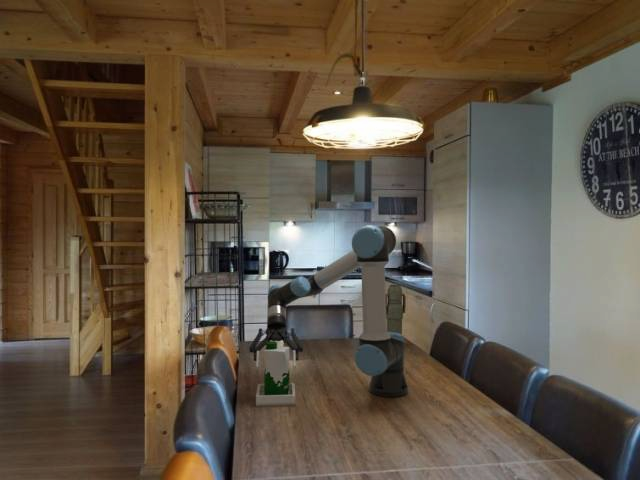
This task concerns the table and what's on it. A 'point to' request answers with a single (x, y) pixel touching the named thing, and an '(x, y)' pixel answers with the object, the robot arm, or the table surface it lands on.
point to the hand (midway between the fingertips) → (276, 368)
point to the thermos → (395, 308)
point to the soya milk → (276, 369)
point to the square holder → (275, 397)
